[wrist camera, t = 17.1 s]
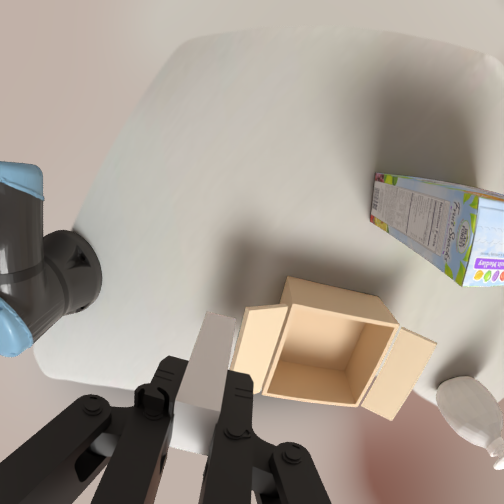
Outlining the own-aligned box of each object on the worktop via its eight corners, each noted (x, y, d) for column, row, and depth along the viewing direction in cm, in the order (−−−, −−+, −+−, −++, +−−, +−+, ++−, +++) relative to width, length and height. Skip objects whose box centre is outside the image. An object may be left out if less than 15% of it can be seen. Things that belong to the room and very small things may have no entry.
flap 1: (259, 392, 43) (255, 388, 44) (288, 306, 39) (283, 302, 40) (224, 401, 40) (221, 396, 41) (249, 310, 36) (244, 306, 37)
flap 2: (391, 421, 41) (393, 417, 42) (436, 344, 37) (437, 342, 37) (361, 405, 44) (363, 402, 45) (401, 328, 40) (402, 326, 41)
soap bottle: (482, 362, 53) (543, 435, 27) (471, 389, 56) (522, 463, 30) (434, 371, 54) (492, 461, 28) (424, 399, 56) (471, 488, 30)
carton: (262, 357, 53) (261, 394, 44) (287, 275, 49) (292, 303, 39) (345, 371, 54) (357, 407, 44) (377, 296, 49) (399, 324, 40)
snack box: (367, 227, 46) (457, 291, 22) (372, 170, 44) (475, 186, 19) (472, 236, 46) (573, 287, 21) (478, 188, 43) (588, 216, 19)
